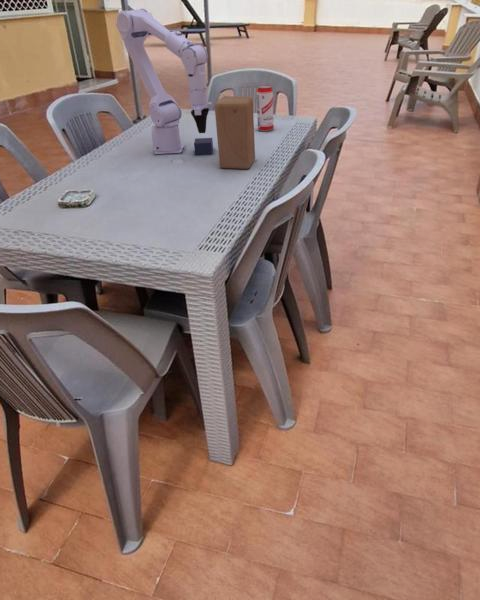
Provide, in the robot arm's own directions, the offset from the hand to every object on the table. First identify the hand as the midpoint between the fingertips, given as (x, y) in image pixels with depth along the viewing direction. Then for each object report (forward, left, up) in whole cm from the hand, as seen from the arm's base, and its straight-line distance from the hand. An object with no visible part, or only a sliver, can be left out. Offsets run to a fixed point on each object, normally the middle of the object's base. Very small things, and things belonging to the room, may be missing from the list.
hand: (202, 132), depth 154 cm
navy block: (0, +5, -8) cm, 10 cm away
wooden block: (+11, -9, -8) cm, 17 cm away
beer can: (+22, +30, -8) cm, 38 cm away
